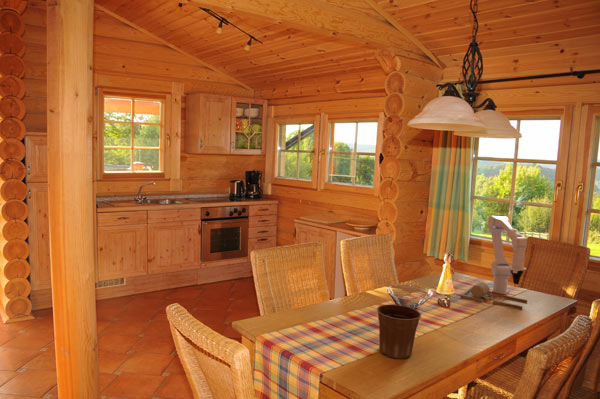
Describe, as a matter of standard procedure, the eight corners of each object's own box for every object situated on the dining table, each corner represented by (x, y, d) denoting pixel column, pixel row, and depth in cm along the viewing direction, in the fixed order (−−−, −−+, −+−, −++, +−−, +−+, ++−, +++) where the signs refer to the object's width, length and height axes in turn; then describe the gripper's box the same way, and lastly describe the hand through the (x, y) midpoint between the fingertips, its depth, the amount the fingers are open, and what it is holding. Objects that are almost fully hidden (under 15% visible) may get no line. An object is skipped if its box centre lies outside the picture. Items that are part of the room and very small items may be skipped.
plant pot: (411, 343, 179) (414, 304, 177) (423, 362, 163) (426, 319, 161) (370, 342, 178) (373, 303, 177) (378, 361, 162) (381, 318, 160)
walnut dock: (499, 296, 247) (499, 294, 247) (527, 302, 239) (527, 299, 239) (492, 303, 235) (493, 300, 235) (522, 309, 227) (522, 306, 227)
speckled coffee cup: (469, 296, 245) (470, 283, 244) (475, 293, 251) (476, 280, 250) (489, 301, 238) (490, 287, 237) (494, 298, 244) (495, 285, 243)
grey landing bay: (470, 289, 258) (470, 287, 258) (491, 293, 252) (491, 291, 252) (460, 297, 242) (460, 294, 242) (482, 302, 236) (482, 299, 235)
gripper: (524, 262, 231) (521, 288, 232) (529, 258, 243) (526, 282, 244) (509, 260, 235) (507, 285, 236) (514, 255, 247) (512, 279, 248)
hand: (516, 283), depth 240 cm, fingers closed
